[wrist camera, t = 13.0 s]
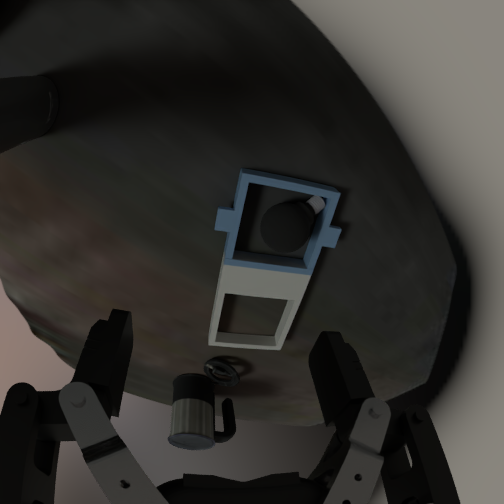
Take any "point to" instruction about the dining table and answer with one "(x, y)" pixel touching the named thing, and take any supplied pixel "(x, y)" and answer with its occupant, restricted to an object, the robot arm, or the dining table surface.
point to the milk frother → (201, 408)
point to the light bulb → (289, 224)
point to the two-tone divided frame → (268, 261)
